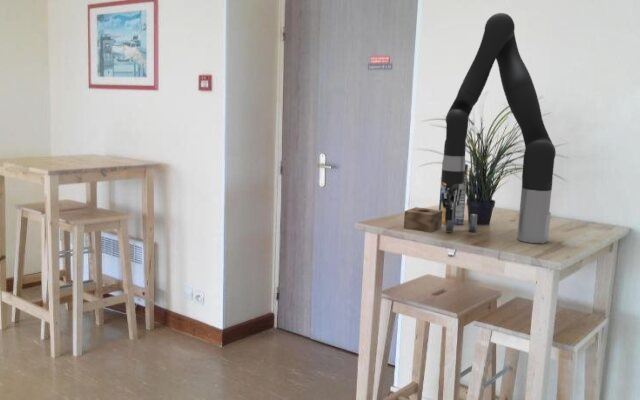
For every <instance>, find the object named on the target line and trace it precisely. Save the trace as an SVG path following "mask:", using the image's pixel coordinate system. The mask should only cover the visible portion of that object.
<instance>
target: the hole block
mask: <svg viewBox="0 0 640 400" xmlns="http://www.w3.org/2000/svg"><path fill="white" fill-rule="evenodd" d="M403 218H404V219H403V228H404V229H408V230H409V229H410V230H415V231H420V230H421V231H422V232H426V231H427V233H432V232H435V231H436V230H438V229H442V225H443V223H442V211H440V210H439V209H433V208H423V207H417V206H414V208H413V207H412V208H410V209H407V210H404V217H403Z"/></svg>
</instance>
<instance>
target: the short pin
mask: <svg viewBox="0 0 640 400" xmlns="http://www.w3.org/2000/svg"><path fill="white" fill-rule="evenodd" d="M477 222H478V214H477V213H470V214H469V224H468V232H469V233H476V232H477V224H478V223H477Z"/></svg>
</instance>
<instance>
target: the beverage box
mask: <svg viewBox="0 0 640 400" xmlns="http://www.w3.org/2000/svg"><path fill="white" fill-rule="evenodd" d="M442 163H443V160H442ZM442 163H441V164H442ZM468 168H469V165H468V164H466V163H465V176H464V183H463V184H459V189H462V192H461V197H460V201H459V205H458V206H457V208H456V212H455V219H454V222H453V226H464V221H465V206H466V194H467V181H468ZM441 179H442V174H441V177H440V189H439V190H440V191H439V206H438V210H440V211H442V225H443V224H444V225H445V226H446V219H445V214H446V209H445V208H443V202H442V192H443V193H444V191H445V188H446V183H443V182H442V181H441Z"/></svg>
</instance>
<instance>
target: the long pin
mask: <svg viewBox="0 0 640 400" xmlns="http://www.w3.org/2000/svg"><path fill="white" fill-rule="evenodd" d="M451 200H453V199H451ZM454 208H455V203H453V214H452V220H446V225H445V232H449V233H452V232H454V225H453V222H454Z"/></svg>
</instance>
